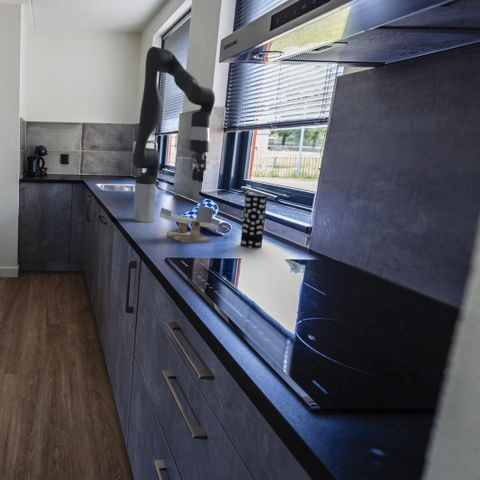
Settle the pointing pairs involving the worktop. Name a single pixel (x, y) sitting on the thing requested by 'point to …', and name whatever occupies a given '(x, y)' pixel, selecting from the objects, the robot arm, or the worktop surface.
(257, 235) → the spotted tube
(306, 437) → the worktop surface
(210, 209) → the steel weight
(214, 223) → the beam
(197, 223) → the pivot stand
